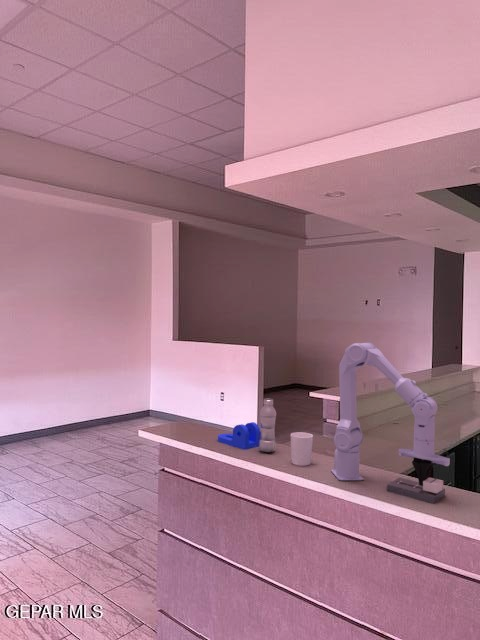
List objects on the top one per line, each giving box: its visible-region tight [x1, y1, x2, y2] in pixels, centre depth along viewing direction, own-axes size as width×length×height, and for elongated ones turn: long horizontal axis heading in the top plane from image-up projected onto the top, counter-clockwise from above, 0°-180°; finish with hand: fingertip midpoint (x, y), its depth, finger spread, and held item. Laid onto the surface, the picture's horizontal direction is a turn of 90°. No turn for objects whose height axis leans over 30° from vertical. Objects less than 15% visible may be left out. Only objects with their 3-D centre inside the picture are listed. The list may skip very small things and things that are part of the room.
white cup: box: [290, 431, 314, 467], centre depth 173 cm, size 8×8×10 cm
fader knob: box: [423, 476, 444, 493], centre depth 143 cm, size 4×5×3 cm
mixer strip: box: [386, 477, 446, 504], centre depth 146 cm, size 14×9×2 cm, turn 49°
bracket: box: [217, 421, 261, 450], centre depth 198 cm, size 18×8×9 cm, turn 45°
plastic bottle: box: [258, 398, 277, 453], centre depth 186 cm, size 6×7×20 cm
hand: (422, 484), depth 145 cm, fingers closed
